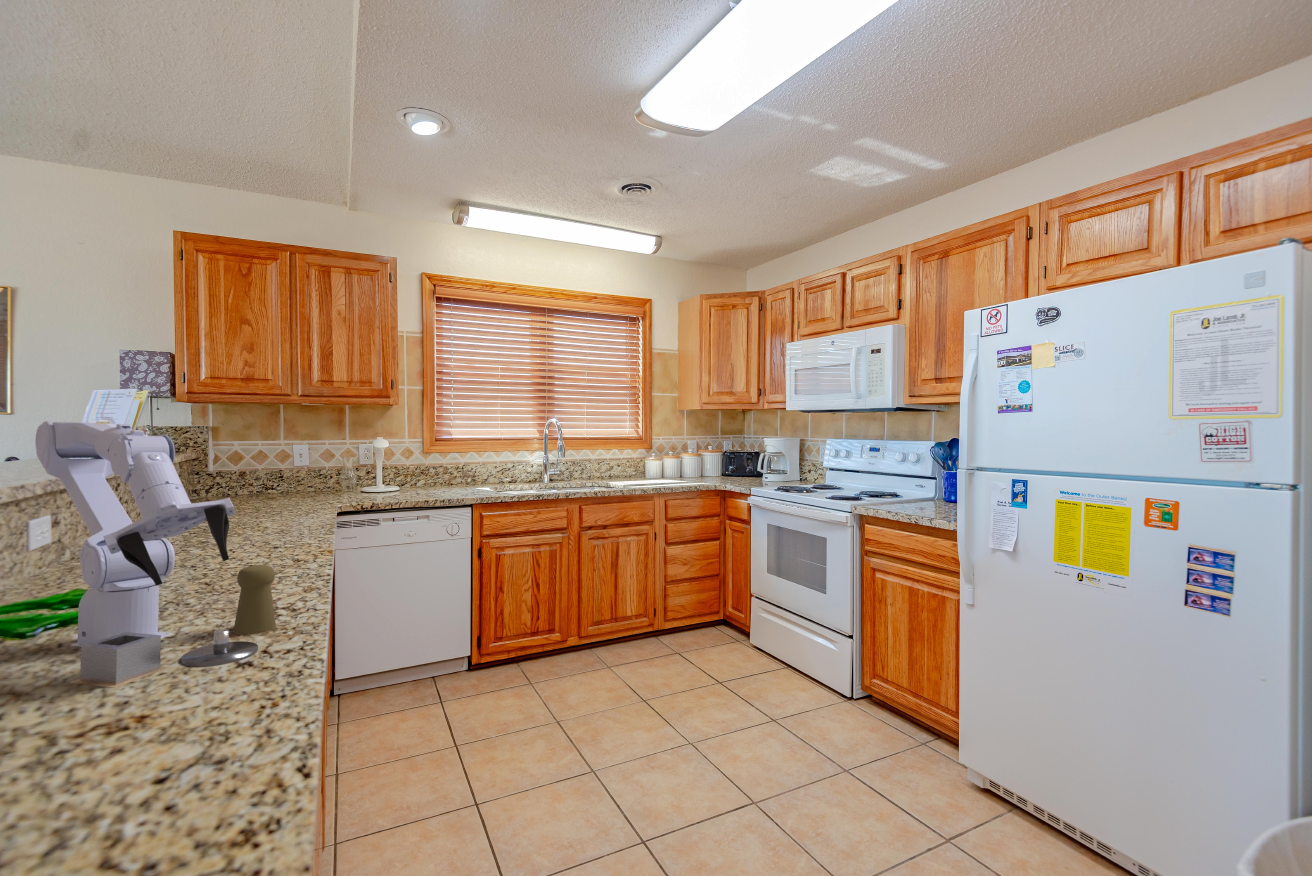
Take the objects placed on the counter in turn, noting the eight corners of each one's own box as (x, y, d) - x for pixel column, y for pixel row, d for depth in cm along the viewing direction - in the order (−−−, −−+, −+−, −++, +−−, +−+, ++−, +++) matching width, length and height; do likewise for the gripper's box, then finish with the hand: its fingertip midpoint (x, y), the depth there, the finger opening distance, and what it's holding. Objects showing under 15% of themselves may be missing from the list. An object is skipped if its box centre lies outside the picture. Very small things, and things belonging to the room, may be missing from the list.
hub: (164, 667, 83) (165, 638, 83) (222, 645, 92) (222, 619, 92) (219, 673, 81) (220, 644, 81) (272, 650, 90) (273, 624, 90)
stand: (69, 686, 76) (70, 658, 76) (127, 666, 83) (127, 640, 83) (114, 692, 74) (115, 663, 74) (169, 671, 81) (169, 645, 81)
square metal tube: (80, 680, 76) (81, 645, 76) (125, 664, 82) (126, 632, 82) (115, 684, 75) (116, 649, 75) (160, 668, 81) (161, 635, 81)
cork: (254, 640, 94) (256, 571, 95) (222, 636, 96) (224, 568, 96) (285, 628, 100) (287, 563, 100) (255, 625, 102) (256, 561, 102)
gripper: (87, 498, 79) (116, 576, 74) (215, 464, 89) (249, 531, 84) (102, 528, 84) (131, 604, 79) (222, 492, 93) (255, 558, 88)
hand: (192, 568), depth 82 cm, fingers open, 7 cm apart
